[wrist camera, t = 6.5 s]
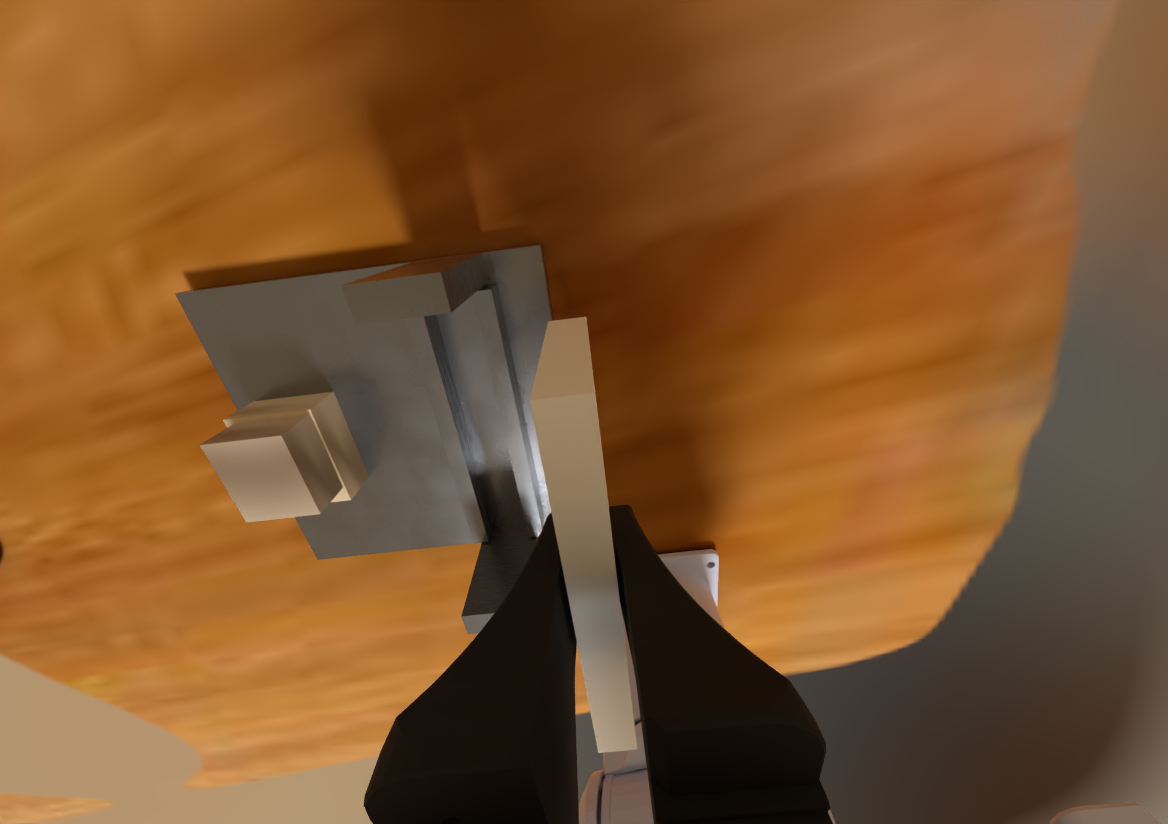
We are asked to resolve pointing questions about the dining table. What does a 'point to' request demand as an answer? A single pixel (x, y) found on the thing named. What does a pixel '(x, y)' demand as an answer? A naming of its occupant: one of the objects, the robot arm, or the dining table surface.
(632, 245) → the dining table surface
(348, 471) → the block
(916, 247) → the dining table surface
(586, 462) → the cream rectangular block
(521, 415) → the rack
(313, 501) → the offcut top
